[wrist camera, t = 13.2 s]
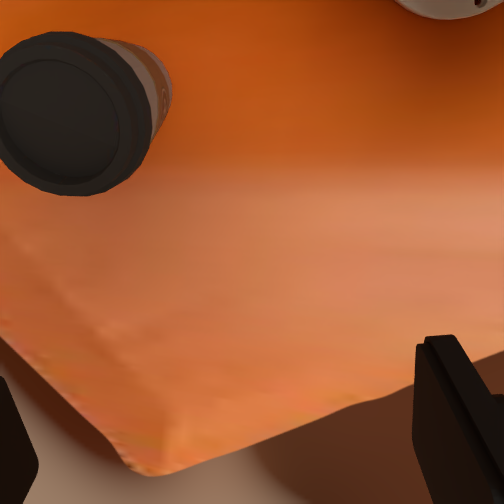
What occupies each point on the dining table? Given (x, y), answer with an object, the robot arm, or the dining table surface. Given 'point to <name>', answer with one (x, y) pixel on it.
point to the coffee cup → (79, 111)
